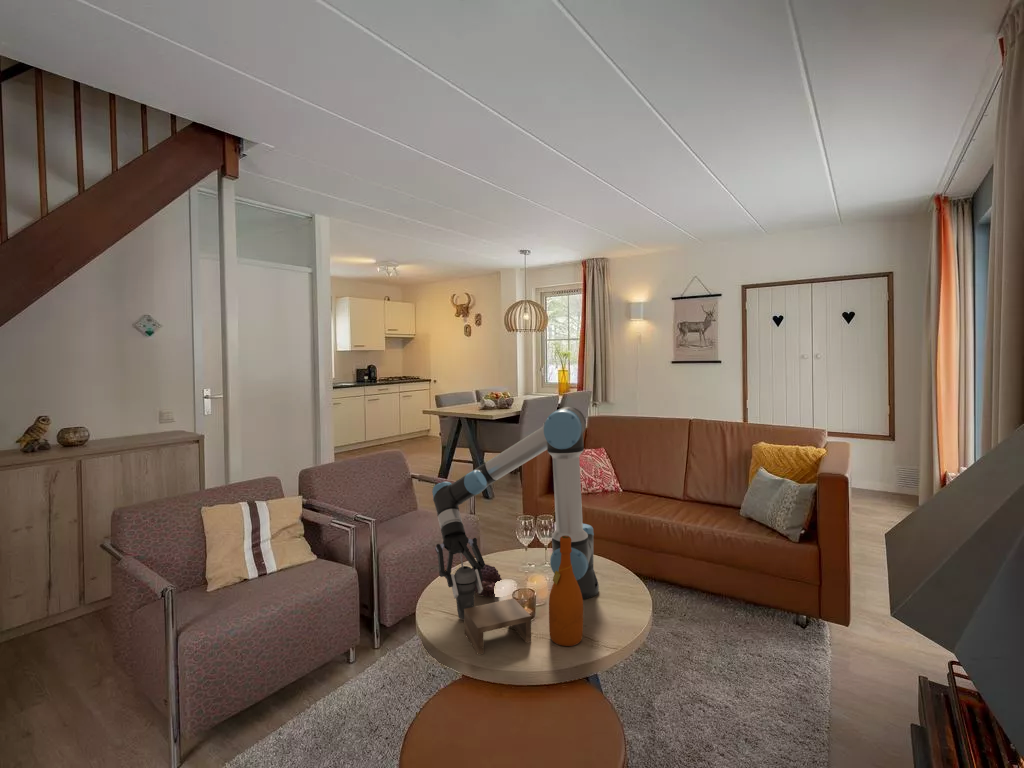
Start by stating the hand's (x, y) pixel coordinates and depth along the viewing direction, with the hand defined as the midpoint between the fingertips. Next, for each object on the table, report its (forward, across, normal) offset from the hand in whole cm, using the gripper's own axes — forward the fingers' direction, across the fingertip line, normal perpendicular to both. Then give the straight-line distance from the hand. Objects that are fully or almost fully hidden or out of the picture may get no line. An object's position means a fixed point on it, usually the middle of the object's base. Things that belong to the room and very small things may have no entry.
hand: (468, 593), depth 156 cm
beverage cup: (+4, 0, -9) cm, 9 cm away
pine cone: (-5, -12, -19) cm, 23 cm away
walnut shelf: (+14, -5, +1) cm, 15 cm away
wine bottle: (+21, -23, +7) cm, 31 cm away
